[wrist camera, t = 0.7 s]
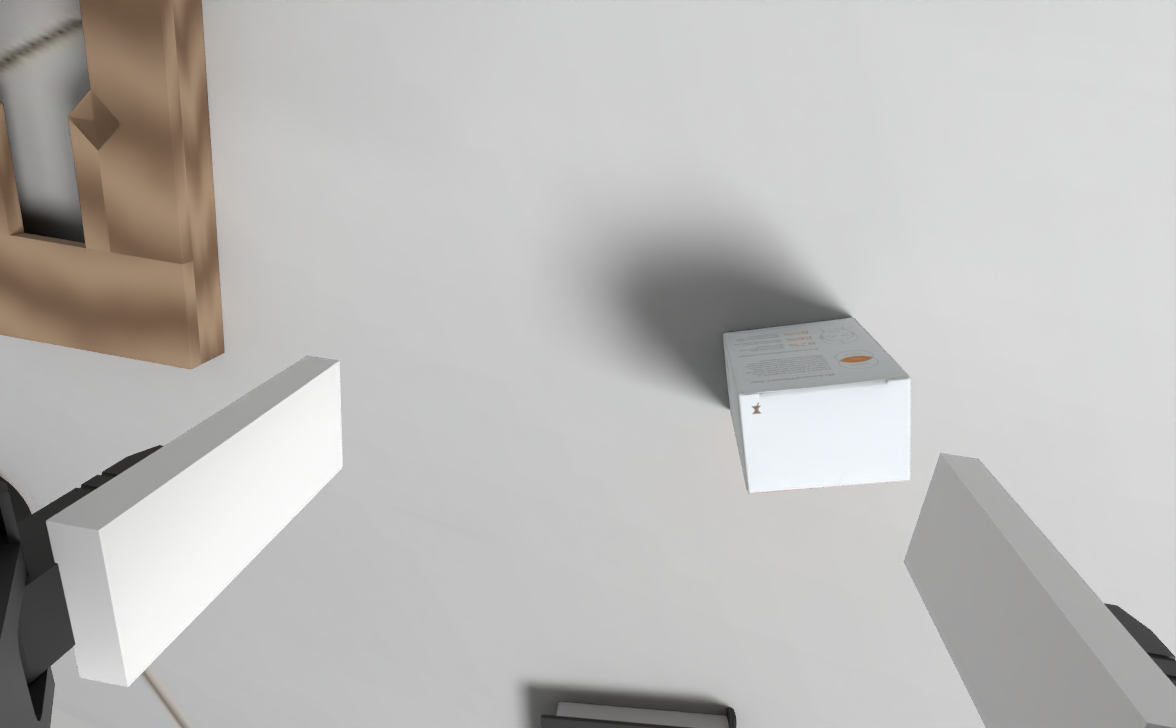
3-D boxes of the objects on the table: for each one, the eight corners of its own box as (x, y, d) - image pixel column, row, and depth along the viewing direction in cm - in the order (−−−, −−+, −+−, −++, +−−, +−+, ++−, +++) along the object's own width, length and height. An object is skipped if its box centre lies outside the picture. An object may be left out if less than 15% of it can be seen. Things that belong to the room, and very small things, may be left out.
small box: (729, 412, 43) (743, 497, 33) (721, 329, 41) (733, 394, 32) (859, 400, 42) (913, 485, 32) (856, 314, 40) (913, 377, 30)
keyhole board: (-101, -156, 38) (-172, -182, 35) (193, -121, 37) (147, -144, 34) (-11, 310, 48) (-60, 323, 45) (224, 352, 47) (190, 369, 43)
